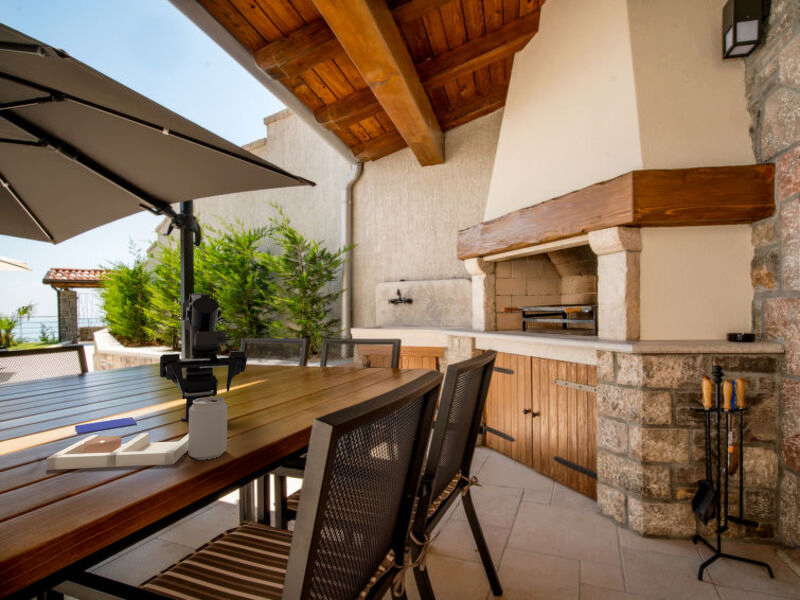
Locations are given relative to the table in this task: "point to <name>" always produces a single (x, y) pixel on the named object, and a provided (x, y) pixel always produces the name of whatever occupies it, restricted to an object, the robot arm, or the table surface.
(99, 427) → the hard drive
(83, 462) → the divider tray
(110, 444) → the terracotta dish
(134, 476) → the table surface
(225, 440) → the can
